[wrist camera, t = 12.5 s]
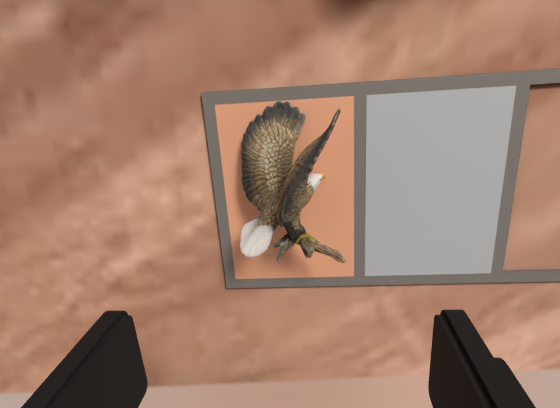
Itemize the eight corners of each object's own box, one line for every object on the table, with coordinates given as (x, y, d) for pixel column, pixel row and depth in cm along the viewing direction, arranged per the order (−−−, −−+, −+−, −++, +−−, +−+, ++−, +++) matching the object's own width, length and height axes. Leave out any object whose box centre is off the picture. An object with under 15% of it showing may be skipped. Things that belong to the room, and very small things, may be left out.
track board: (705, 58, 22) (710, 58, 21) (642, 277, 26) (645, 279, 26) (202, 92, 24) (201, 92, 24) (227, 286, 29) (226, 288, 29)
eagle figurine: (372, 229, 25) (368, 95, 21) (320, 297, 20) (299, 142, 16) (281, 208, 29) (262, 94, 25) (220, 260, 25) (183, 130, 20)
